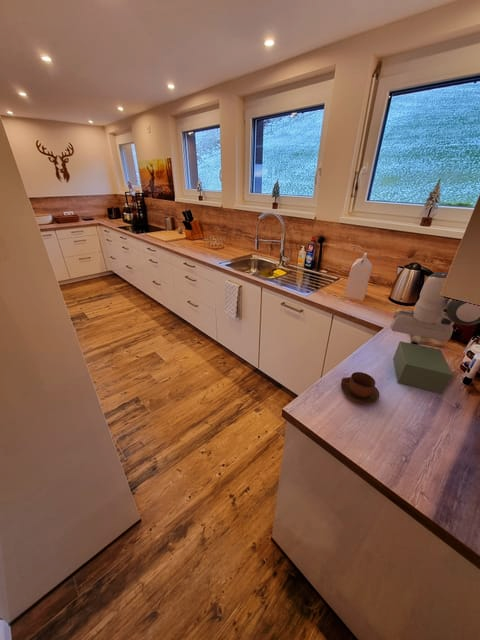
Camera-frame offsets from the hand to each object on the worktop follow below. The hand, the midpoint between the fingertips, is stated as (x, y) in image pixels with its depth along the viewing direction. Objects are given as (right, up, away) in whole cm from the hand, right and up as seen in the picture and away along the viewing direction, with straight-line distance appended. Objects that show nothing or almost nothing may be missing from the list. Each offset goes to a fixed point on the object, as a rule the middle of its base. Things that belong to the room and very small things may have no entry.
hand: (413, 343), depth 107 cm
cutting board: (+16, +3, +17) cm, 23 cm away
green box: (-5, -11, -9) cm, 15 cm away
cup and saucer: (-31, -15, -19) cm, 39 cm away
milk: (+1, +25, +57) cm, 62 cm away
